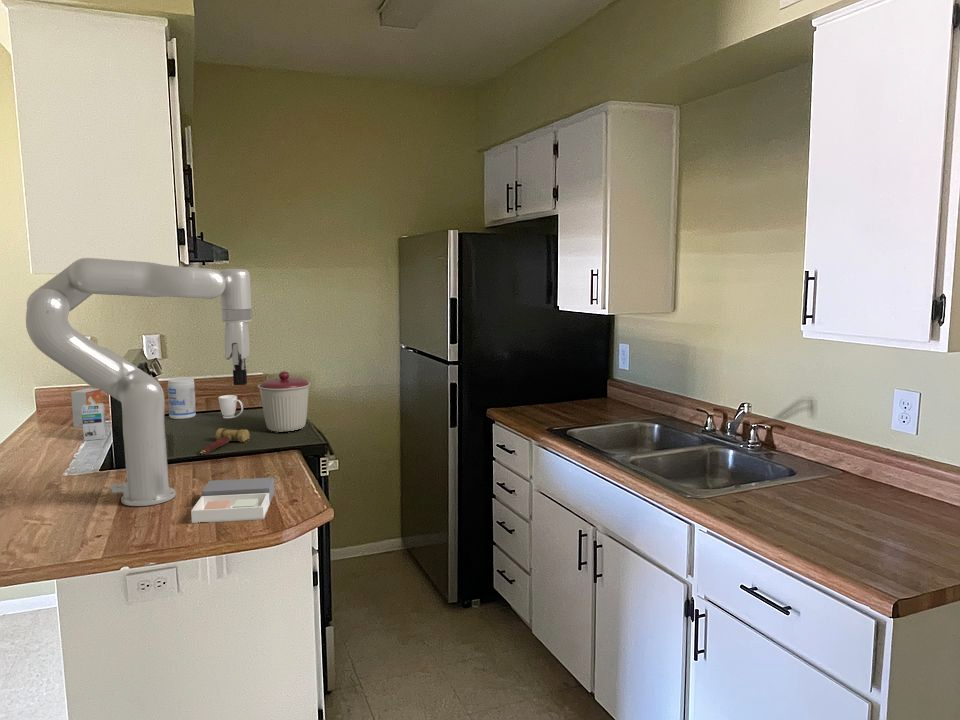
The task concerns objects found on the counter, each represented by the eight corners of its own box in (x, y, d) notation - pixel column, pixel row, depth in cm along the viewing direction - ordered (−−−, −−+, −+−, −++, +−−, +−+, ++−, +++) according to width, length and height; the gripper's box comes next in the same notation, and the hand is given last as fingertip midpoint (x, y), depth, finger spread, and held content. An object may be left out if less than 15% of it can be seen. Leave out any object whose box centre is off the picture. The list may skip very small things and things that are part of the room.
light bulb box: (105, 439, 244) (103, 408, 243) (83, 441, 241) (80, 409, 240) (106, 432, 254) (104, 402, 252) (84, 434, 251) (82, 404, 250)
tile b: (236, 499, 173) (237, 509, 173) (232, 506, 168) (232, 517, 168) (258, 498, 174) (258, 508, 174) (254, 505, 169) (254, 515, 169)
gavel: (214, 447, 221) (185, 446, 223) (215, 462, 222) (186, 460, 224) (249, 427, 241) (222, 426, 243) (250, 440, 242) (223, 439, 244)
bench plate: (202, 507, 176) (201, 491, 176) (210, 495, 185) (209, 480, 185) (270, 503, 179) (269, 488, 178) (274, 492, 187) (274, 477, 187)
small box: (88, 427, 261) (85, 392, 260) (73, 426, 262) (70, 391, 261) (103, 422, 269) (101, 388, 267) (89, 422, 270) (86, 387, 269)
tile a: (207, 501, 171) (208, 512, 172) (203, 509, 167) (204, 519, 167) (229, 500, 172) (230, 510, 173) (226, 507, 167) (226, 518, 168)
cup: (227, 414, 282) (225, 394, 281) (248, 416, 279) (247, 395, 278) (215, 418, 276) (214, 397, 274) (237, 420, 272) (236, 399, 271)
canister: (289, 438, 245) (286, 376, 242) (248, 432, 252) (245, 373, 250) (322, 426, 261) (320, 369, 258) (283, 422, 269) (281, 366, 266)
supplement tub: (166, 420, 273) (164, 381, 271) (172, 414, 282) (170, 377, 280) (193, 419, 275) (191, 381, 273) (198, 413, 284) (196, 377, 282)
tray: (191, 523, 165) (191, 510, 165) (202, 508, 176) (201, 496, 175) (263, 519, 168) (263, 507, 167) (269, 504, 178) (269, 492, 178)
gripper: (227, 314, 196) (231, 380, 199) (216, 318, 182) (220, 390, 184) (256, 313, 197) (259, 379, 200) (246, 318, 183) (250, 389, 185)
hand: (240, 384), depth 192 cm, fingers closed
